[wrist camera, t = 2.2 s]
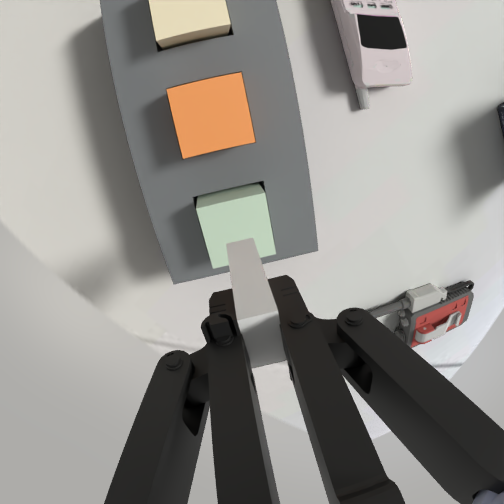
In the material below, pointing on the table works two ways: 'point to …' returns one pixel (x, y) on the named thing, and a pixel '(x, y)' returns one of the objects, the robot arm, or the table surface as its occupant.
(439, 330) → the walkie-talkie
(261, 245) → the sage button
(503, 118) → the small box
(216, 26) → the sand button
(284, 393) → the table surface
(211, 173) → the button console
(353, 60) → the mobile phone
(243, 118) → the orange button
